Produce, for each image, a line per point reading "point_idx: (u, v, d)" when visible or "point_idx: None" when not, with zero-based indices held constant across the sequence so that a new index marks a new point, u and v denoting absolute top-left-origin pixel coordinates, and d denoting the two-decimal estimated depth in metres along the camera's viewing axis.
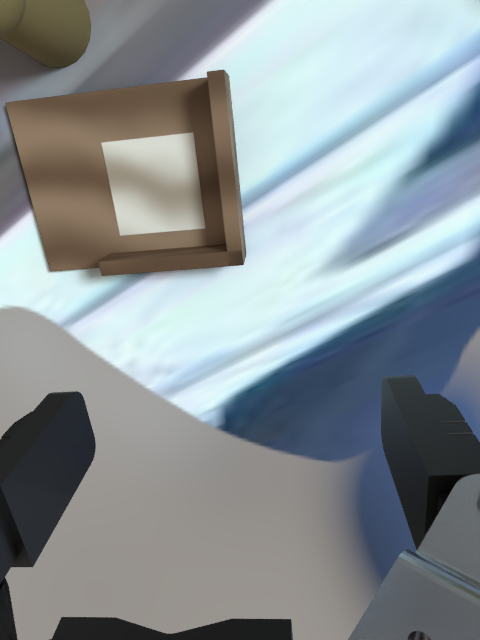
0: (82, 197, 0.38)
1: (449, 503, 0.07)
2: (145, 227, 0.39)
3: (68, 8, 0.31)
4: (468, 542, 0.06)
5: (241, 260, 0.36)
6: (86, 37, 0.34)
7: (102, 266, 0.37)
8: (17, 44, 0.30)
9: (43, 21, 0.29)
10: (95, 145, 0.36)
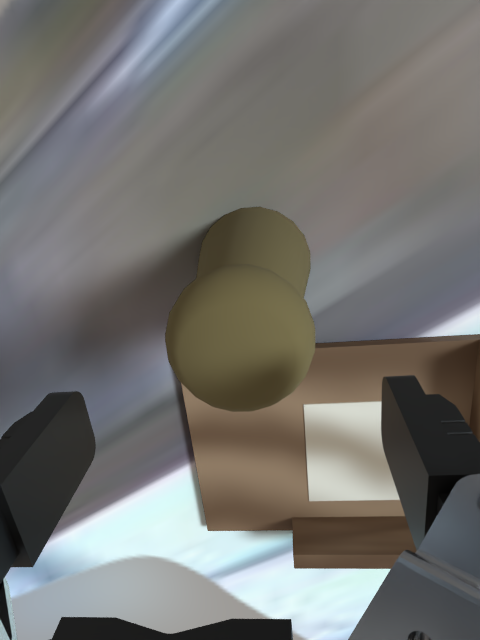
0: (265, 459, 0.29)
1: (449, 503, 0.07)
2: (346, 494, 0.29)
3: (306, 277, 0.21)
4: (468, 542, 0.06)
5: None
6: None
7: (297, 559, 0.28)
8: None
9: None
10: (294, 406, 0.27)
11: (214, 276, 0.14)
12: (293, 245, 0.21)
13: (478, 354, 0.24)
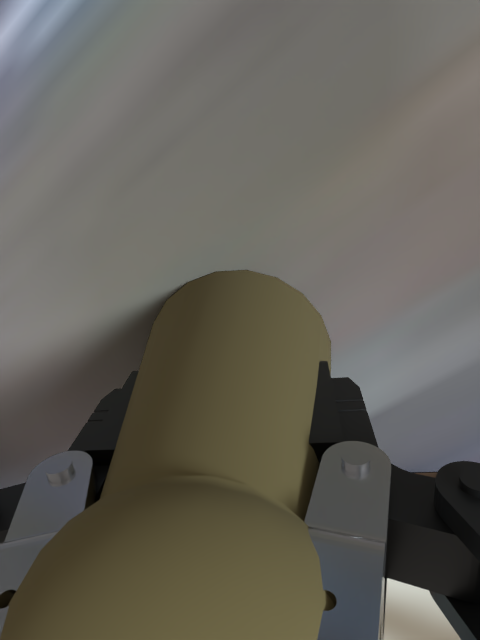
0: None
1: (321, 474, 0.08)
2: None
3: None
4: (320, 493, 0.07)
5: None
6: None
7: None
8: None
9: None
10: None
11: (98, 568, 0.05)
12: (306, 351, 0.11)
13: None
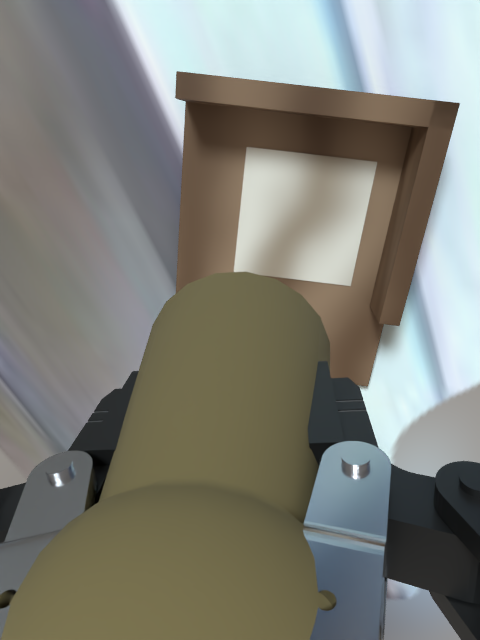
0: None
1: (321, 474, 0.08)
2: (349, 248, 0.28)
3: None
4: (320, 493, 0.07)
5: (451, 105, 0.22)
6: None
7: (386, 320, 0.26)
8: None
9: None
10: None
11: (96, 570, 0.05)
12: (305, 353, 0.11)
13: (200, 103, 0.25)
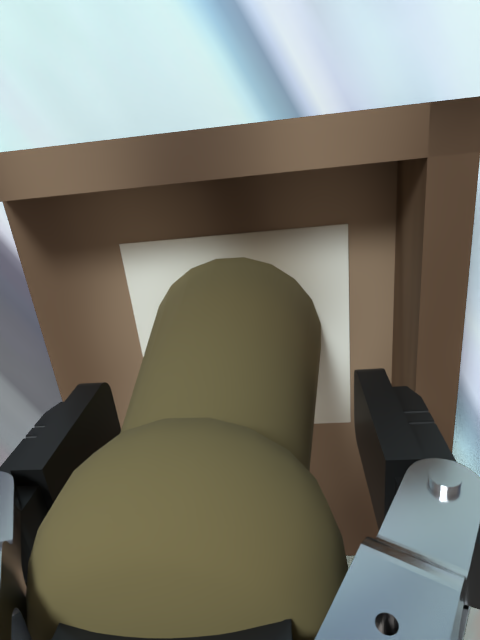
0: None
1: (403, 489, 0.07)
2: (334, 367, 0.16)
3: (317, 375, 0.13)
4: (413, 519, 0.07)
5: (467, 103, 0.10)
6: None
7: None
8: None
9: None
10: None
11: (124, 472, 0.06)
12: (296, 327, 0.13)
13: None
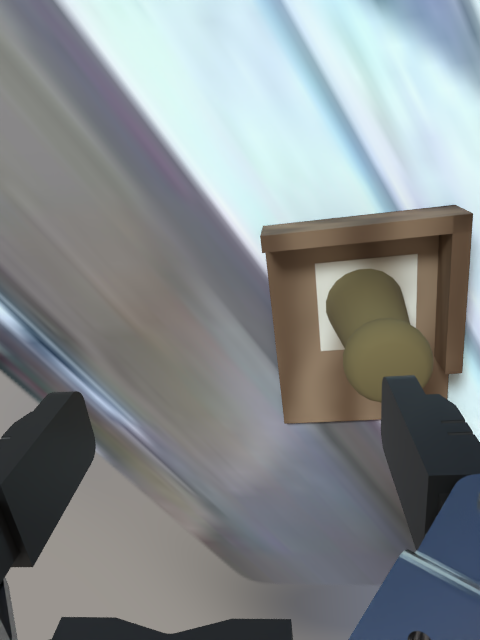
0: None
1: (449, 503, 0.07)
2: (409, 317, 0.35)
3: None
4: (468, 542, 0.06)
5: (466, 215, 0.29)
6: None
7: (451, 371, 0.34)
8: None
9: None
10: (323, 356, 0.38)
11: (378, 327, 0.26)
12: (400, 297, 0.32)
13: None
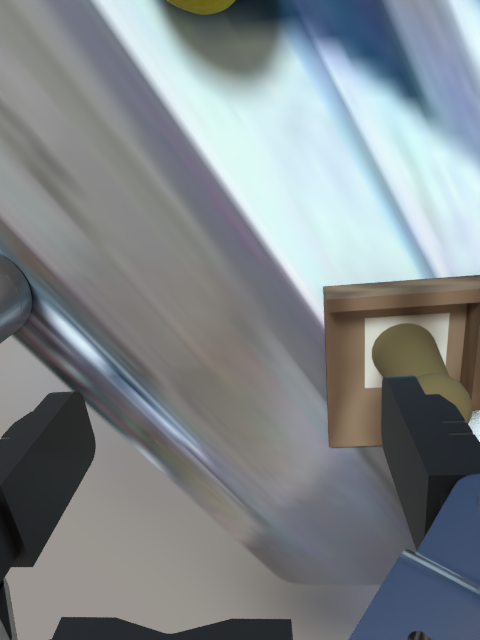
0: None
1: (449, 503, 0.07)
2: None
3: None
4: (468, 542, 0.06)
5: None
6: None
7: (475, 408, 0.41)
8: None
9: None
10: (366, 392, 0.45)
11: (430, 381, 0.33)
12: (437, 349, 0.39)
13: None
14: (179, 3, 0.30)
